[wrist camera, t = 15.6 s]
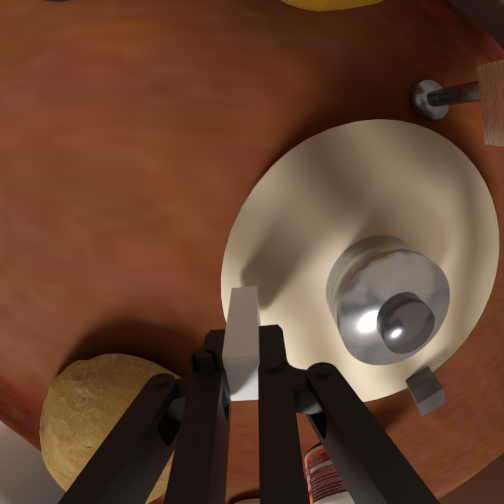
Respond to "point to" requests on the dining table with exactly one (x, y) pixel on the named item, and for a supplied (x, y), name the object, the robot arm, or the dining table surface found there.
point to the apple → (329, 4)
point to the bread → (91, 412)
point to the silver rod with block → (467, 99)
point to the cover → (386, 299)
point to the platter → (357, 228)
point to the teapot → (249, 501)
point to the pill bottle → (324, 479)
